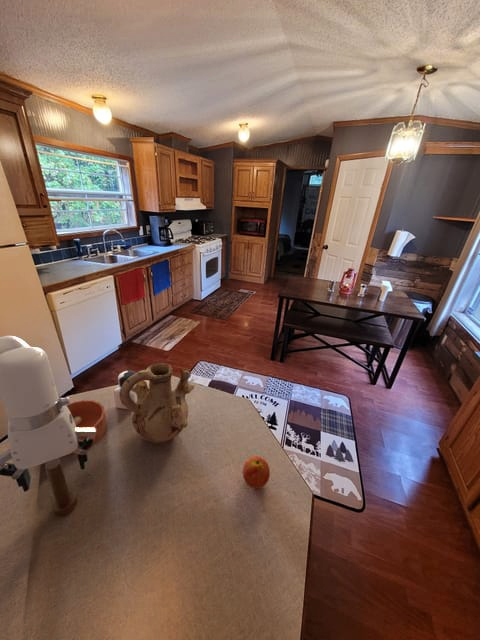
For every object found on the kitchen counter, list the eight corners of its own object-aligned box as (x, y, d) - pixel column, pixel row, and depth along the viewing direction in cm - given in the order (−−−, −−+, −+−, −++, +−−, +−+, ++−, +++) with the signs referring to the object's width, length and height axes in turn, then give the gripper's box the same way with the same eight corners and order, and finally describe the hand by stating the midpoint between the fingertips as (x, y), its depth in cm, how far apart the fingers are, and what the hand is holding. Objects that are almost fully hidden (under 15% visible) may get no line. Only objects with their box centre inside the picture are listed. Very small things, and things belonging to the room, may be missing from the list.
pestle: (53, 520, 55) (38, 477, 50) (54, 502, 59) (40, 460, 53) (77, 510, 57) (65, 468, 52) (76, 492, 61) (65, 451, 55)
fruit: (250, 464, 71) (252, 443, 68) (272, 477, 68) (276, 456, 65) (236, 484, 66) (239, 463, 62) (260, 500, 62) (264, 478, 59)
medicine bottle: (145, 396, 93) (142, 369, 88) (135, 410, 86) (132, 381, 82) (126, 394, 93) (122, 367, 89) (115, 408, 87) (111, 379, 82)
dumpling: (73, 427, 77) (72, 421, 77) (73, 422, 79) (72, 416, 78) (82, 424, 79) (81, 418, 78) (82, 419, 81) (81, 413, 80)
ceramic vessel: (187, 460, 71) (187, 387, 61) (117, 460, 69) (105, 386, 59) (194, 412, 88) (194, 349, 78) (137, 412, 86) (130, 348, 76)
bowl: (45, 464, 67) (40, 448, 64) (49, 424, 79) (45, 409, 76) (109, 442, 74) (106, 426, 72) (104, 408, 86) (101, 394, 84)
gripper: (88, 386, 54) (100, 444, 61) (-22, 414, 46) (6, 478, 52) (90, 408, 48) (104, 470, 55) (-35, 445, 40) (-2, 512, 46)
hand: (56, 474), depth 54 cm, fingers open, 9 cm apart
